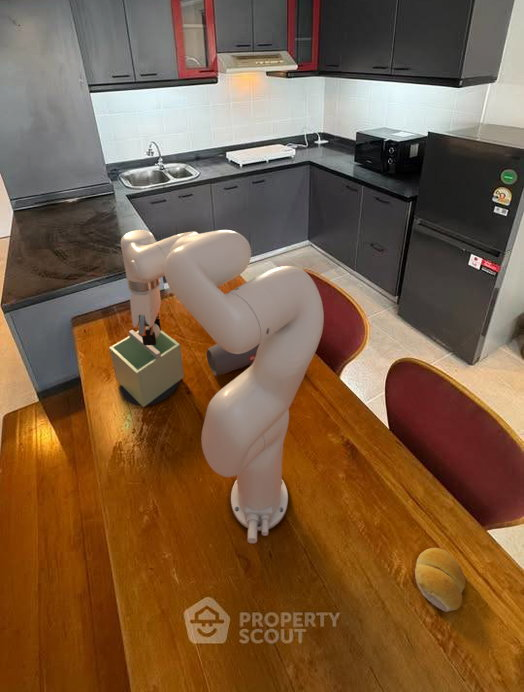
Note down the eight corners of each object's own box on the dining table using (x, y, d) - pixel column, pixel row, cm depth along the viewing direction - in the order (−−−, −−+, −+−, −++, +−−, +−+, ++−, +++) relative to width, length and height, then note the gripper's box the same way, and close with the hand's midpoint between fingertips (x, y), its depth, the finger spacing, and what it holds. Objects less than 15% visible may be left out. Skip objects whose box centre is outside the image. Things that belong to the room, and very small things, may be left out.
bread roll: (466, 571, 73) (471, 560, 71) (456, 623, 66) (462, 613, 64) (422, 541, 77) (425, 530, 75) (408, 587, 70) (412, 577, 69)
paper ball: (158, 344, 98) (156, 331, 96) (141, 344, 98) (139, 330, 96) (162, 332, 102) (160, 319, 100) (146, 332, 102) (144, 319, 100)
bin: (116, 380, 112) (107, 342, 106) (156, 353, 122) (150, 318, 116) (143, 407, 104) (135, 368, 98) (184, 376, 113) (179, 339, 107)
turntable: (173, 406, 106) (172, 403, 105) (112, 405, 106) (111, 403, 105) (184, 360, 121) (184, 358, 121) (131, 360, 121) (131, 357, 121)
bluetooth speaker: (218, 386, 112) (216, 361, 107) (206, 365, 119) (204, 340, 115) (284, 359, 122) (285, 334, 117) (269, 341, 129) (270, 317, 125)
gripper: (138, 261, 99) (147, 316, 107) (116, 301, 84) (128, 362, 92) (167, 261, 99) (173, 316, 107) (150, 301, 84) (159, 362, 92)
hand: (152, 337), depth 100 cm, fingers closed on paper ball, 4 cm apart
